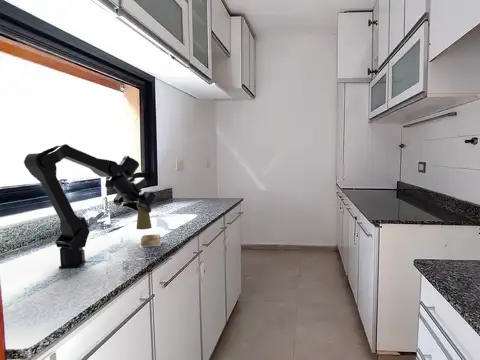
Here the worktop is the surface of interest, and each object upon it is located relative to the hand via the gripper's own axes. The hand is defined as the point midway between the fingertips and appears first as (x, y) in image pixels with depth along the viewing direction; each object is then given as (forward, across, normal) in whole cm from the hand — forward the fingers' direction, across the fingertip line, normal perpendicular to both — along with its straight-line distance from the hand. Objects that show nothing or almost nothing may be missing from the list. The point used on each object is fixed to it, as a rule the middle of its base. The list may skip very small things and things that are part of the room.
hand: (145, 211), depth 149 cm
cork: (+4, 0, +6) cm, 7 cm away
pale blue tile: (+7, -2, +12) cm, 14 cm away
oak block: (+7, -4, +10) cm, 13 cm away
